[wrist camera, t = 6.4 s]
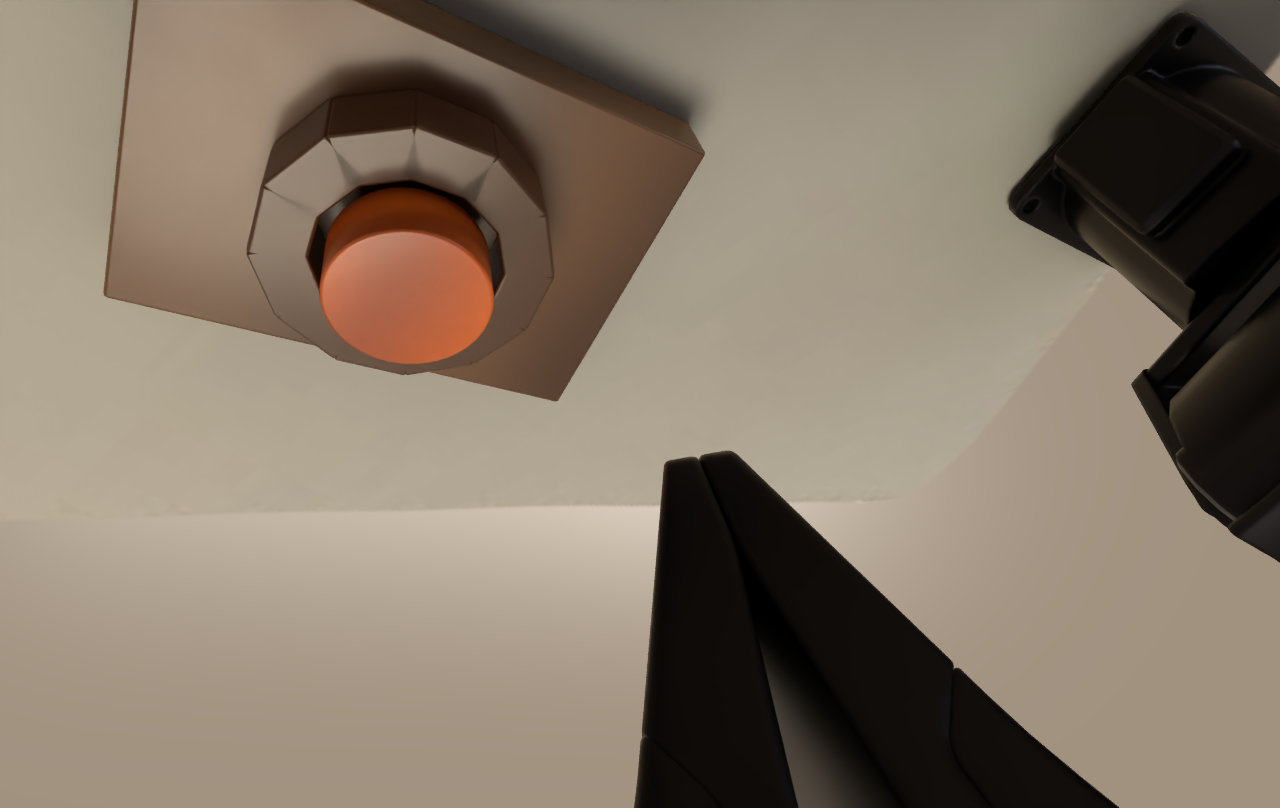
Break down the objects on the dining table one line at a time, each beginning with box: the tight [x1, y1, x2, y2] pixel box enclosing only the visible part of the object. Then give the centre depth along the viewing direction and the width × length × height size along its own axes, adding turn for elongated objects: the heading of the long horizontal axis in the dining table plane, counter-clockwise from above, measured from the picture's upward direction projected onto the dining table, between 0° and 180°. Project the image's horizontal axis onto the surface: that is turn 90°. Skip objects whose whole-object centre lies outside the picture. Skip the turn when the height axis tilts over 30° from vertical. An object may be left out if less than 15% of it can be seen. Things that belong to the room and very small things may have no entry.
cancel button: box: [319, 187, 494, 364], centre depth 17 cm, size 4×4×2 cm
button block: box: [104, 0, 705, 401], centre depth 18 cm, size 12×9×4 cm
